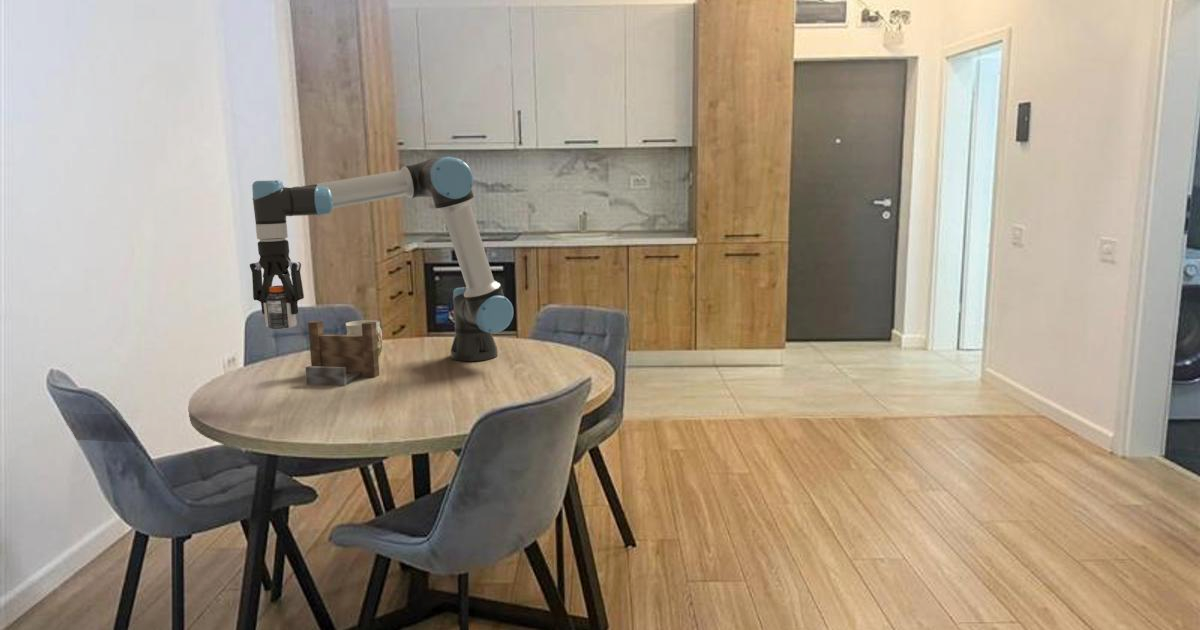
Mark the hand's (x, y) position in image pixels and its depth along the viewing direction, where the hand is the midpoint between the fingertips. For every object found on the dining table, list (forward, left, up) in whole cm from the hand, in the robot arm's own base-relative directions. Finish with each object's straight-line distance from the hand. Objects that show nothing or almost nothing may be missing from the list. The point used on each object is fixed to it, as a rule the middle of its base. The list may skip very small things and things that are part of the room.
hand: (281, 326), depth 209 cm
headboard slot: (-6, -16, -19) cm, 25 cm away
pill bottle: (0, 0, -1) cm, 1 cm away
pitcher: (-5, -37, -19) cm, 42 cm away
